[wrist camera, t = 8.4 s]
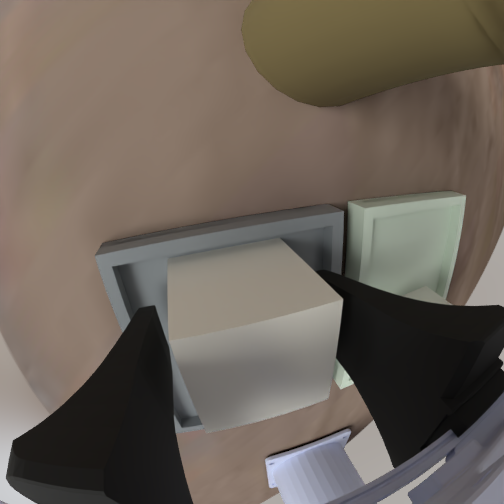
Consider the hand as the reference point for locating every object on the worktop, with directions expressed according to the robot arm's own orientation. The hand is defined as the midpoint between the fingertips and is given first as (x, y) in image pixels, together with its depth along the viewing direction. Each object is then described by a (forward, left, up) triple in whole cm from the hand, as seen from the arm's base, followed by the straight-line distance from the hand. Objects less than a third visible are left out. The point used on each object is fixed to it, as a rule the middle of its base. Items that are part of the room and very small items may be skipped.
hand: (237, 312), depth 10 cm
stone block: (0, 0, -1) cm, 1 cm away
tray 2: (-3, -10, -2) cm, 10 cm away
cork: (+10, -4, -2) cm, 11 cm away
